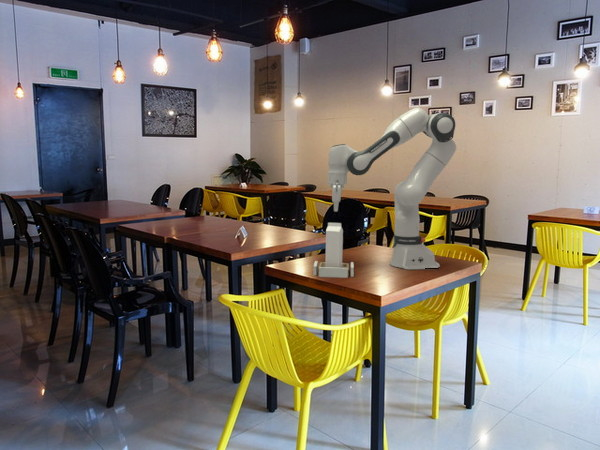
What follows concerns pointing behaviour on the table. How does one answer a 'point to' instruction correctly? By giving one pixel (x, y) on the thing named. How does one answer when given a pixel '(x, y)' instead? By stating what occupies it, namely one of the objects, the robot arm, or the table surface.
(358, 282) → the table surface
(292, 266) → the table surface
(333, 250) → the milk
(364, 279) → the table surface
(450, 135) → the robot arm
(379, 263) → the table surface
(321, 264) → the frame
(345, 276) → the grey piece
